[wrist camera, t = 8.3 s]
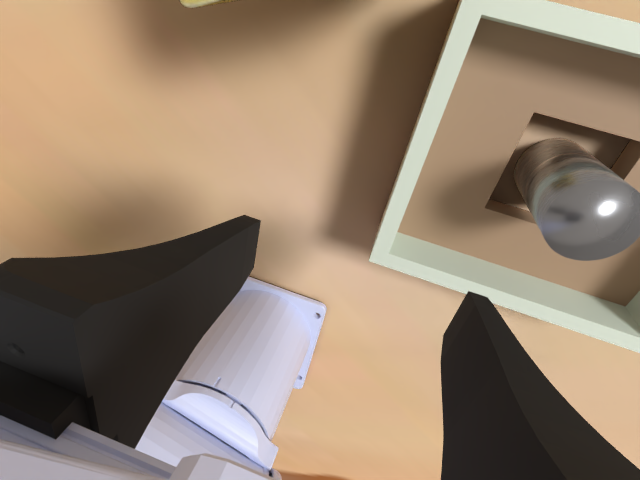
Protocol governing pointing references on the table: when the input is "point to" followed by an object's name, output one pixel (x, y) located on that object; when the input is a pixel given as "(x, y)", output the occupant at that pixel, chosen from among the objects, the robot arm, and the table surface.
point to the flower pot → (202, 2)
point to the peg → (577, 200)
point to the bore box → (496, 150)
